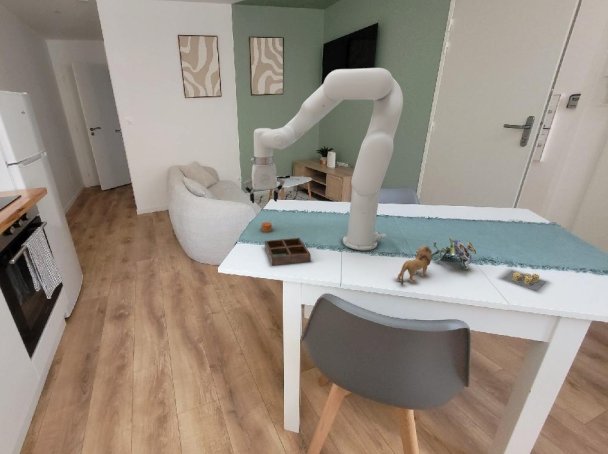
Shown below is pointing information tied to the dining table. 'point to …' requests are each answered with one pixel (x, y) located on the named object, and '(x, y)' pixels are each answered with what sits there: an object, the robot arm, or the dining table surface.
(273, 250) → the grid
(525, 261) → the dining table surface
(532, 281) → the dice set
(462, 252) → the passion flower
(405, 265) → the lion figurine
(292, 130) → the robot arm
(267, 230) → the orange short cylinder
